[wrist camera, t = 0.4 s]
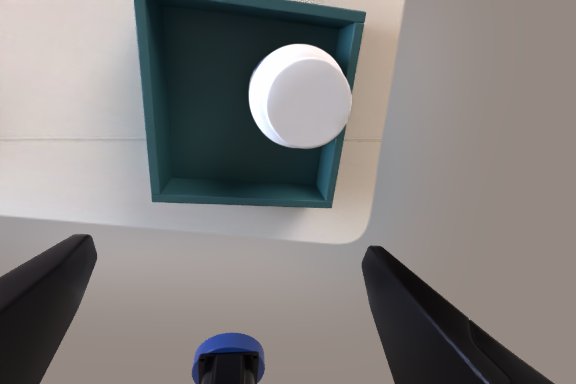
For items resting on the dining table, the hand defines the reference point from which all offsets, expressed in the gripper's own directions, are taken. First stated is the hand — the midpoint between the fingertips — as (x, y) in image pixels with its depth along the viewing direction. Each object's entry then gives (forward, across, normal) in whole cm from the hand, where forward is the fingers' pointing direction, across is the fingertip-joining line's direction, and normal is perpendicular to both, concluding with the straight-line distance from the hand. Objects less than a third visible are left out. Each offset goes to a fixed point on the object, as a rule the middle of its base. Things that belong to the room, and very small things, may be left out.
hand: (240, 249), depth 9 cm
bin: (+15, 0, 0) cm, 15 cm away
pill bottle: (+15, -3, -2) cm, 16 cm away
